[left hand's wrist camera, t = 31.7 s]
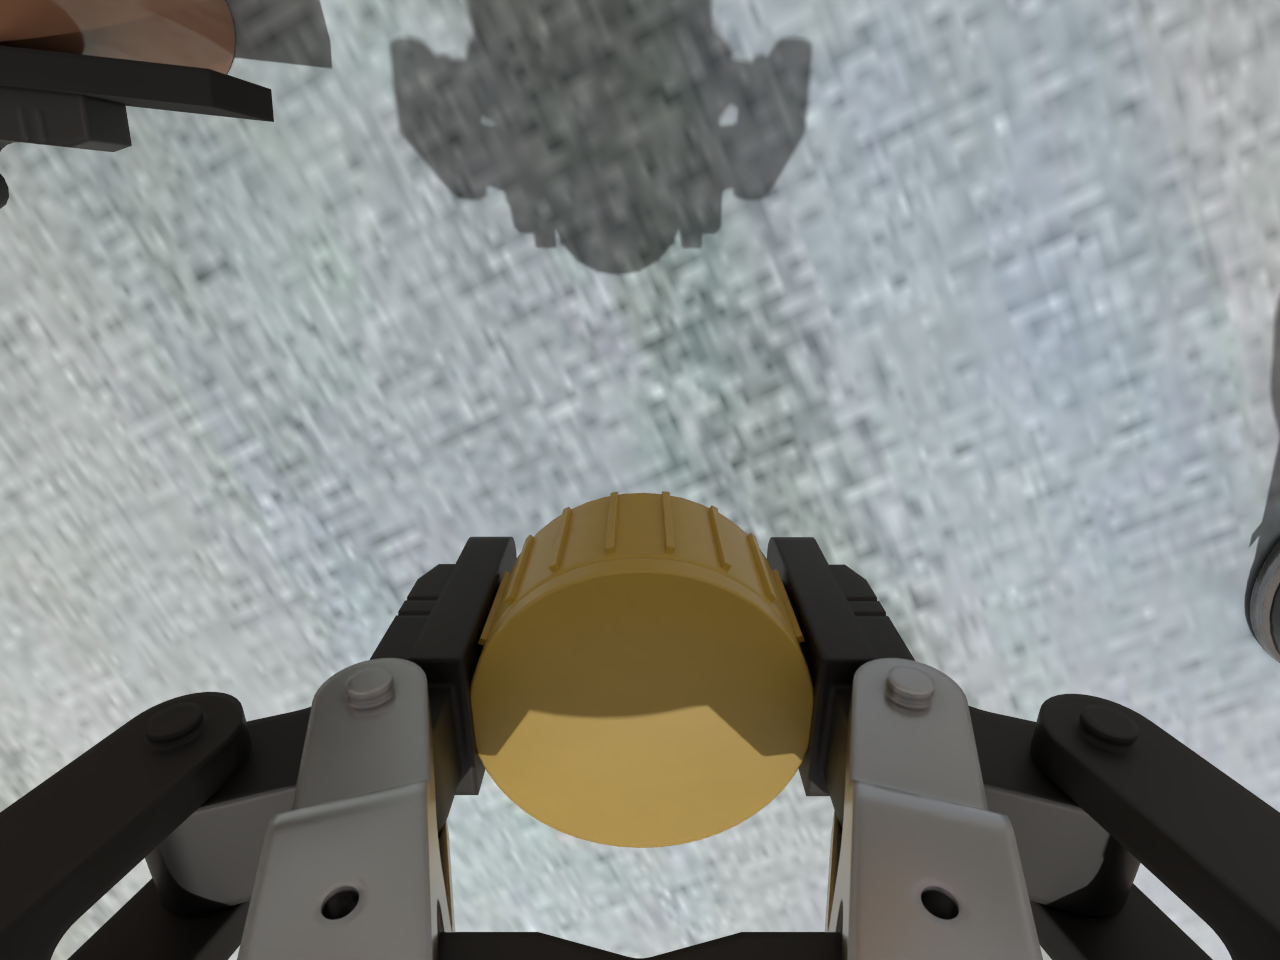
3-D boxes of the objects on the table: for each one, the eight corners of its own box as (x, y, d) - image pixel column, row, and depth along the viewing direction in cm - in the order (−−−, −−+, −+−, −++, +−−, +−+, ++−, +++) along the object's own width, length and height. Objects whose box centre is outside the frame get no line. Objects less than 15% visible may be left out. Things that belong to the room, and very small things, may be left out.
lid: (441, 569, 11) (388, 664, 9) (703, 432, 10) (722, 499, 8) (590, 766, 12) (579, 893, 10) (829, 663, 11) (876, 775, 9)
